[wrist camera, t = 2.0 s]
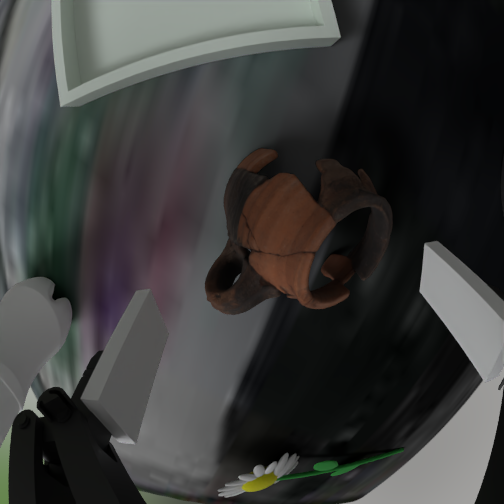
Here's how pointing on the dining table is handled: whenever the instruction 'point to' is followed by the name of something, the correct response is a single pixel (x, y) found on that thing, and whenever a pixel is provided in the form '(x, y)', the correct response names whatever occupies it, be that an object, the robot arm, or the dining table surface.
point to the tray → (172, 37)
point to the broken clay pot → (292, 235)
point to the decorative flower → (279, 471)
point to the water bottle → (28, 340)
